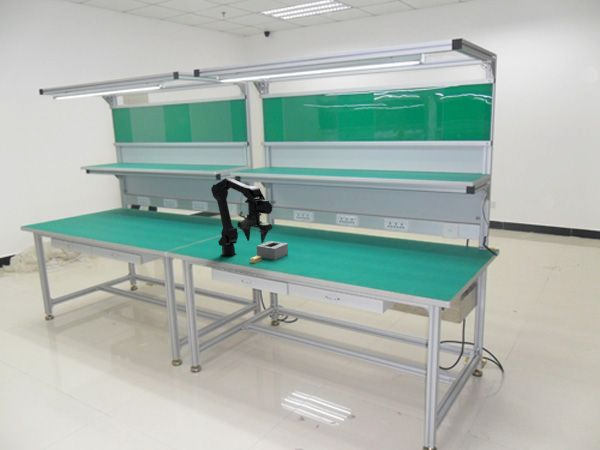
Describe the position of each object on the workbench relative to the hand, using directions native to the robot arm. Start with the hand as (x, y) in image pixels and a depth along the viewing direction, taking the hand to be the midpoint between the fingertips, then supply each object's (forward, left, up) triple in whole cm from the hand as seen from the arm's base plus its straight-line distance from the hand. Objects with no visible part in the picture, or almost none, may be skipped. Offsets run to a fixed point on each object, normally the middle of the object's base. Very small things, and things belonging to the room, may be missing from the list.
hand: (255, 241), depth 238 cm
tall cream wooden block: (0, 0, -11) cm, 11 cm away
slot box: (+1, +13, -11) cm, 17 cm away
